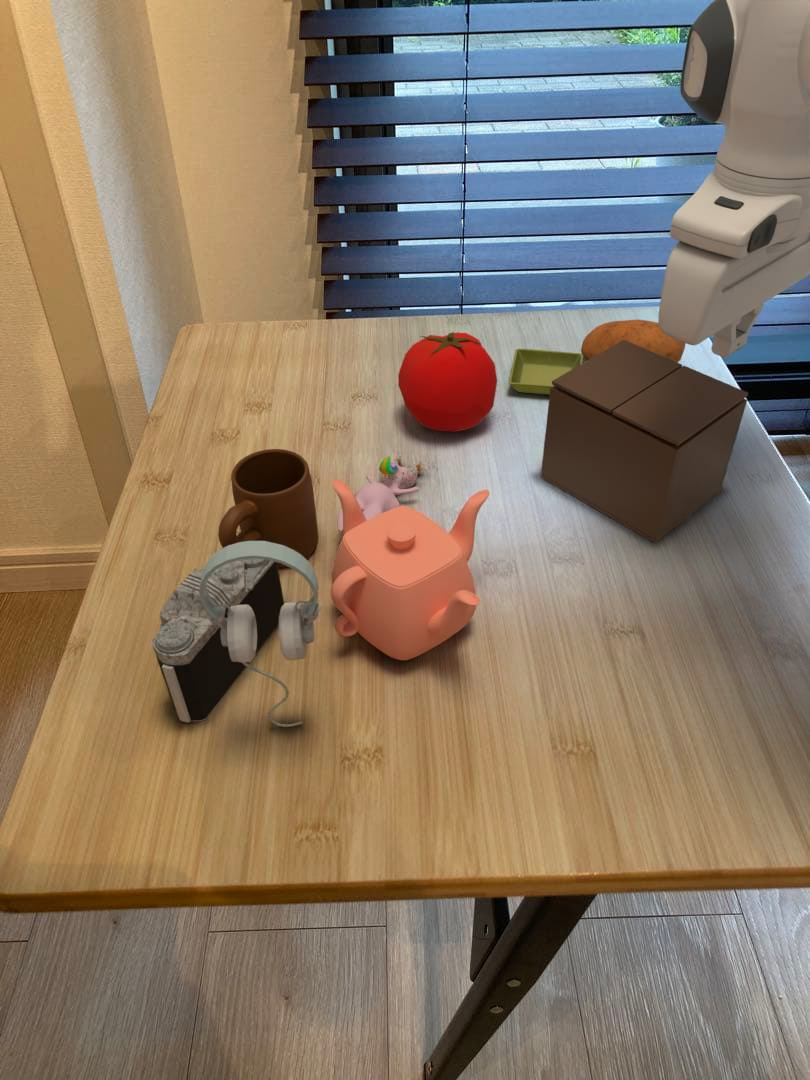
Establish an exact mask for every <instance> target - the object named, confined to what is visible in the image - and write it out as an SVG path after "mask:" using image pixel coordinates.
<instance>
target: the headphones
mask: <svg viewBox="0 0 810 1080" xmlns="http://www.w3.org/2000/svg"><path fill="white" fill-rule="evenodd" d="M243 559H266V560H270V561H274V562H278V563H282V564H284V565H286V567H288V568H290V569H292V570H294V571H295V572H296V573H298V574H299V575H300V576H302V577H303V579H304V580H305V581H306V582H307V583H308V585H309V588H310V589H311V592H312V593H313V595H312V596H311V598H310V599H309V600H308V601H307V600H299V601H297V602H295V601H294V602H293V601H292V602H284V605H283V606H282V607H281V610H280V615H279V626H278V640H279V646H280V650H281V653H282V656H283V658H284V659H285V660H286V661H299V660H305V659H306V657H307V651H308V649H307V648H308V644H311V643H314V642H315V624H314V623H315V622H314V621H316V619H317V618H318V617H319V613H320V611H321V609H322V603H321V602H318V597H319V579H318V576H317V574H316V571H315V569H314V567H313V566H312V564H311V563H310V561H309V560H307V558H306V559H305V558H304V557H303V556H302V555H301V554H299V553H298V552H296V551H294V550H293V549H290V548H288V547H286V546H284V545H280V544H276V543H271V542H267V541H245V542H239V543H235V544H232V545H228V546H226V547H224V548H223V547H222V548H220V549H219V550H217V551H216V552H215V553H213V554H212V555H211V557H210V558H208V560H207V561H206V563H205V565H204V568H203V569H204V570H203V573H202V578H201V583H200V588H199V595H200V600H201V602H202V604H203V606H204V608H205V610H204V611H205V615H206V616H207V617H208V618H209V619H210V622H212V623H213V624H214V625H218V626H220V627H221V631H220V633H221V643H222V645H223V646H228V649H229V654H230V658H231V660H232V661H233V662H242V663H243V664H244V665H245V666H246V667H247V668H248V669H249V670H252V671H253V672H256V673H258V674H260V675H263V676H265V677H268V678H269V679H271V680H273V681H274V682H276V683H278V684H279V685H280V686H281V687H282V688H283V689H284V691H285V696H284V697H283V698H282V699H281V700H280V701H279V702H278V703H276V704H275V705H274V706H273V707H271V708H270V709H269V711H268V713H267V715H268V717H267V718H268V719H269V721H270V722H272V724H274V725H276V726H277V727H282V728H289V727H296V726H300V725H302V724H303V720H302V721H298V722H294V723H286V724H285V723H280V722H277V721H275V720H274V719H273V718H272V712H274V710H275V709H277V708H278V707H280V706H281V705H282V704H283V703H285V702H286V701H287V699H288V697H289V693H290V692H289V689H288V687H287V686H286V685H285V684H284V682H283V681H282V680H280V679H278V678H277V677H276V676H273V675H272V674H270V673H268V672H265V671H264V670H261V669H259V668H256V667H254V666H252V665H250V664H249V665H248V664H247V663H246V662H250V663H251V662H252V661H253V660H254V659H255V657H256V656H255V654H256V648H257V624H256V619H255V615H254V612H253V610H252V608H251V607H250V606H249V605H237V606H231V607H229V606H228V605H225V604H220V605H216V604H215V603H214V601H213V600H212V599H211V598H210V596H209V594H208V591H207V581H208V578H209V577H210V576H211V575H212V574H213V572H214V571H215V570H216V569H218V568H220V567H221V566H223V565H225V564H227V563H231V562H234V561H238V560H243ZM220 606H222V607H220ZM223 606H225V607H227V608H228V609H229V612H228V619H227V618H224V615H225V610H226V608H225V607H223ZM209 614H210V615H211V616H210V615H209ZM221 622H223V623H222V624H221ZM254 656H255V657H254Z"/></svg>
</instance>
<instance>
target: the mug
mask: <svg viewBox="0 0 810 1080" xmlns="http://www.w3.org/2000/svg"><path fill="white" fill-rule="evenodd" d="M230 480H231V490H232V496H233V497H232V498H233V502H234V505H233V506H231V507H230V508H228V510H227V511H226V512H225V513H224V515H223V517H222V518H221V520H220V522H219V526H218V533H217V534H218V535H217V536H218V541H219V544H220V546H221V547H222V548H224V547H226V546H228V545H232V544H235V543H239V542H245V541H267V542H271V543H276V544H280V545H284V546H286V547H288V548H290V549H293V550H294V551H296V552H298V553H299V554H301V555H302V556H303V557H304V558H305V559H306V560H307V558H309V557H310V556H311V555H312V554H313V552H314V551H315V549H316V547H317V546H318V542H319V541H318V540H319V528H318V521H317V511H316V503H315V494H314V487H313V480H312V476H311V472H310V467H309V464H308V462H307V460H306V459H305V458H304V457H303V456H302V455H300V454H299V453H297V452H295V451H291V450H289V449H283V448H282V449H281V448H268V449H267V448H266V449H262V450H258V451H255V452H253V453H250V454H247V455H246V456H244V457H243V458H241V459H240V460H238V462H237V463H236V464H235V465H234V467H233V469H232V470H231V474H230ZM238 528H239V529H240V532H239V533H237V531H238ZM277 565H278V568H287V566H286V565H284V564H282V563H278V562H277Z"/></svg>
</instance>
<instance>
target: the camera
mask: <svg viewBox="0 0 810 1080" xmlns="http://www.w3.org/2000/svg"><path fill="white" fill-rule="evenodd" d="M203 570H204V568H200V569H197V568H194V569H193V570H192V571H191V572H190V573H189V574H188V575H187V576H186V577H185V578H184V579H183V581H181V583H179V584H178V586H177V587H176V588H175V589H174V590H173V591H172V593H171V594H170V595H169V596H168V597H167V599H166V601H165V603H164V604H163V605H162V607H161V608H162V609H161V611H160V613H159V618H160V622H161V623H160V626H159V629H158V631H157V632H156V634H155V636H154V637H153V638H152V639H151V645H152V647H153V651H154V654H155V657H156V660H157V662H158V666H159V669H160V671H161V675H162V677H163V681H164V683H165V686H166V689H167V692H168V695H169V698H170V701H171V704H172V707H173V710H174V712H175V713H176V714H177V717H178V719H179V721H181V722H182V723H183V722H184V723H191V722H203V721H206V720H207V719H208V718H209V717H210V715H211V714H212V712H214V710H215V709H216V707H217V706H218V705H219V704H220V702H221V701H222V700H223V699H224V697H225V696H226V695H227V693H228V692H229V691H230V690H231V689H232V687H233V686H234V684H235V683H236V682H237V681H238V679H239V678H240V677H241V675H242V674H243V673H244V672H245V670H246V669H247V668H248V667H246V666H245V665H244V664H243V663H242V662H233V661H232V660H231V658H230V654H229V649H228V646H223V645H222V643H221V633H220V631H221V627H220V626H218V625H214V624H213V623H212V622H210V619H209V618H208V617H207V616H206V615H205V611H204V610H205V608H204V606H203V604H202V602H201V600H200V595H199V588H200V583H201V578H202V573H203ZM207 591H208V594H209V596H210V598H211V599H212V600H213V601H214V603H215V604H216V605H220V604H225V605H228V606H229V607H231V606H237V605H249V606H250V607H251V608H252V610H253V612H254V615H255V619H256V624H257V648H256V654H255V656H254V658H256V656H257V655H258V654H259V652H260V651H261V650H262V648H263V647H264V645H266V643H267V642H268V641H269V639H270V637H271V636H272V635H273V634H274V632H275V631H276V630H277V629H278V628H279V615H280V610H281V607H282V606H283V605H284V604H285V600H284V595H283V588H282V584H281V577H280V572H279V567H278V565H277V562H274V561H270V560H266V559H243V560H238V561H234V562H231V563H227V564H225V565H223V566H221V567H220V568H218V569H216V570H215V571H214V572H213V574H212V575H211V576H210V577H209V578H208V581H207ZM220 607H222V606H220ZM223 607H225V606H223ZM225 608H226V610H225V615H224V618H227V619H228V612H229V609H228V608H227V607H225ZM209 615H210V614H209ZM210 616H211V615H210ZM222 623H223V622H221V624H222ZM246 663H247V664H248V665H250V663H251V662H246Z"/></svg>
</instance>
